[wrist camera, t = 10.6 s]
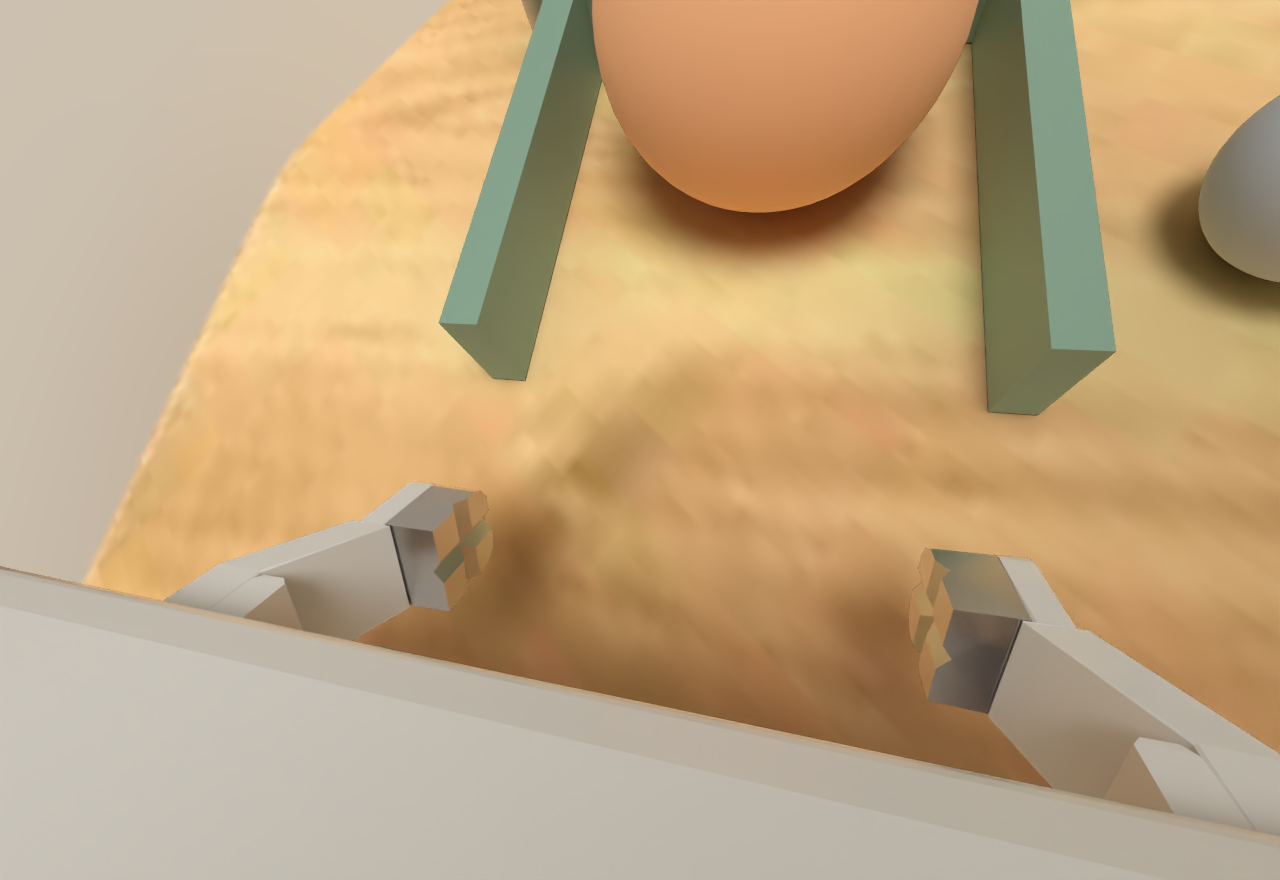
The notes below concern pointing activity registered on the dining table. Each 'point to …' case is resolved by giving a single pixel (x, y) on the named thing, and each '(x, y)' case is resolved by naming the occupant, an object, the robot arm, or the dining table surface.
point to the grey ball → (1246, 196)
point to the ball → (774, 89)
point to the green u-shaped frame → (1007, 186)
